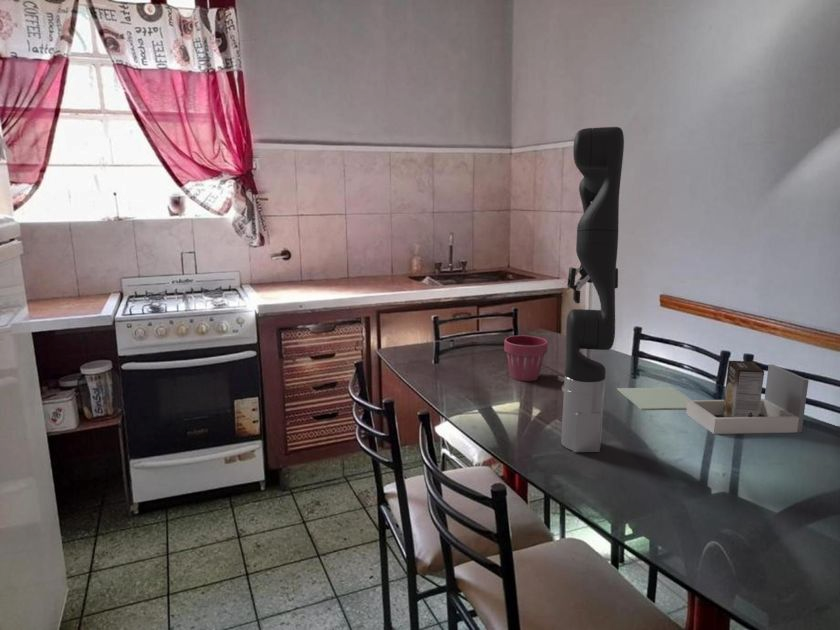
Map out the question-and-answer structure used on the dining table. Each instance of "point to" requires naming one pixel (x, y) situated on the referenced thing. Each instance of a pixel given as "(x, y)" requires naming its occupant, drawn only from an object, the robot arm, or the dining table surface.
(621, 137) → the robot arm
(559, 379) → the pliers
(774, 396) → the case
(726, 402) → the coffee box
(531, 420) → the dining table surface
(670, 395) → the mat
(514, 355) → the plant pot
